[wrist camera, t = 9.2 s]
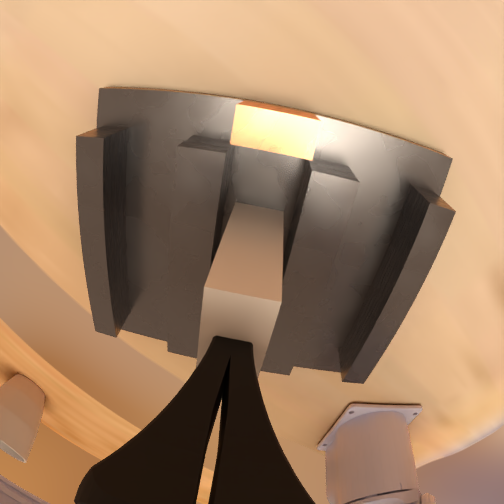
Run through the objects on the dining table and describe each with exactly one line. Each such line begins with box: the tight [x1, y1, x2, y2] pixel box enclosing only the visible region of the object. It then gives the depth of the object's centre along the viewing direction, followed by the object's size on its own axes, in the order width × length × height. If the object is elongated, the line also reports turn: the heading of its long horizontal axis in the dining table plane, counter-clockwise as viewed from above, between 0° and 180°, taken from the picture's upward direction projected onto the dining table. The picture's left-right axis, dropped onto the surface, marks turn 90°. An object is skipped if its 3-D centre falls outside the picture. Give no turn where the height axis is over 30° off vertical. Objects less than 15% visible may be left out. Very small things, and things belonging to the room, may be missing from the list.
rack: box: [76, 87, 456, 384], centre depth 17 cm, size 16×18×4 cm
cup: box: [0, 374, 45, 463], centre depth 27 cm, size 8×8×10 cm
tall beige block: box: [196, 202, 284, 400], centre depth 14 cm, size 6×2×7 cm, turn 170°
